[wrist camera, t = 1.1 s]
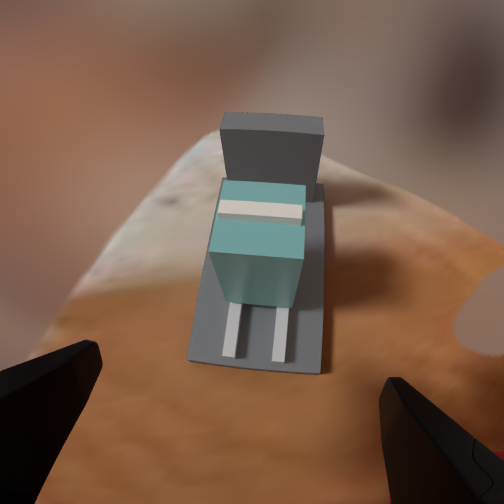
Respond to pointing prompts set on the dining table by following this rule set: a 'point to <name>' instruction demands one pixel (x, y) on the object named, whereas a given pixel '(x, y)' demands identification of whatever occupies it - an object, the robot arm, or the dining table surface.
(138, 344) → the dining table surface
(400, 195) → the dining table surface
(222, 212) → the fader knob
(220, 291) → the fader track
